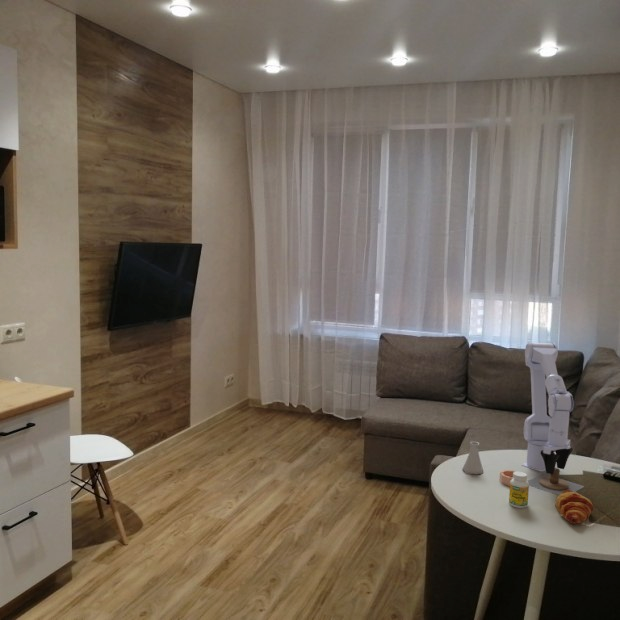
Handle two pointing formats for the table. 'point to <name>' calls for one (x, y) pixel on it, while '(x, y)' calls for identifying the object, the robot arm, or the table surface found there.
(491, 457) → the table surface
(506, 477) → the bowl
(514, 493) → the supplement bottle
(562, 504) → the croissant
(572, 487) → the mat
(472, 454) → the flask
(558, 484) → the lid
